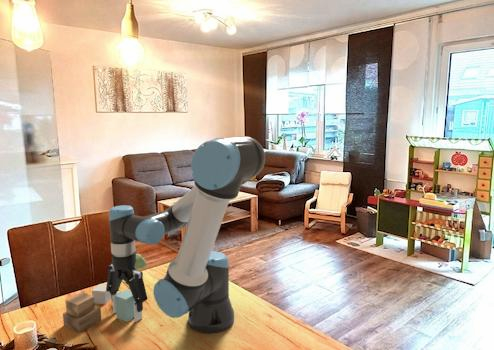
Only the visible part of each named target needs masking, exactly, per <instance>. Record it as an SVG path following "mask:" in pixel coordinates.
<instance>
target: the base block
mask: <svg viewBox="0 0 494 350" xmlns="http://www.w3.org/2000/svg"><path fill="white" fill-rule="evenodd" d="M62 319H63V326H64V327H66V328H68V329H71V330H73V331H75V332H77V333H82V332H84V331H86V330H87V329H89V328H90V327H93V326H94V325H96V324H97V323H99V322H101V321H102V311H101V307H99V306H96V305H95V309H94V310H92V311H91V312H89V313H87V314H85V315H83V316H82V317H80V318H77V317H75V316H72V315H70V314H68V313H67V312H66V311H65V312H63V313H62Z"/></svg>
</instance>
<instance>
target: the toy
mask: <svg viewBox="0 0 494 350" xmlns="http://www.w3.org/2000/svg"><path fill="white" fill-rule="evenodd" d="M134 267H135V270H136V271H137V272H139V270H138V269H144V268H146V267H147V260H146V259H145V258H144V257H143V256H142V255H141V254H140V253H136V263H135V266H134ZM132 279H133V278H132ZM132 279H131V280H132ZM131 280H129V281H131ZM122 282H123V283H122V284H126V282H125V281H122Z"/></svg>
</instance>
